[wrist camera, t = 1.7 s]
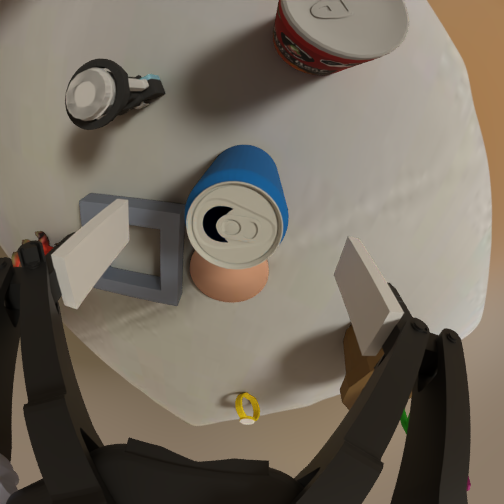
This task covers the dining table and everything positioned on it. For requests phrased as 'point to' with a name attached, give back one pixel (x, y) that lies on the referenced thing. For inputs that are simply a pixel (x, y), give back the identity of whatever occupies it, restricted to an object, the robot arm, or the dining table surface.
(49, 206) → the dining table surface
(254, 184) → the beverage can
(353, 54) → the canned food
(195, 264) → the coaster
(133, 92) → the push button
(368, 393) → the robot arm
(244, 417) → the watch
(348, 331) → the flowerpot
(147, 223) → the grey square frame
